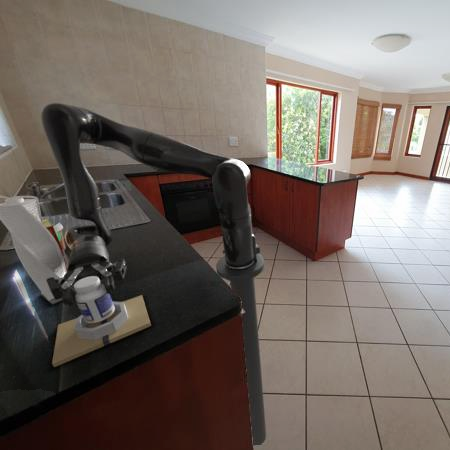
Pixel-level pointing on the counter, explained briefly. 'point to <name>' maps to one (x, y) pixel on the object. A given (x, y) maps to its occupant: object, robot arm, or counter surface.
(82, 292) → the pill bottle
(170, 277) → the counter surface
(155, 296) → the counter surface
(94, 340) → the pad dock
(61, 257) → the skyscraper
